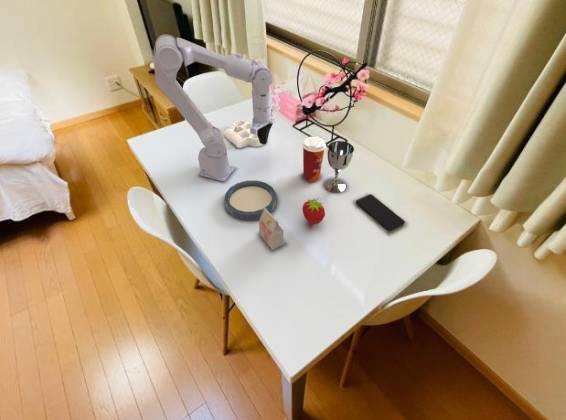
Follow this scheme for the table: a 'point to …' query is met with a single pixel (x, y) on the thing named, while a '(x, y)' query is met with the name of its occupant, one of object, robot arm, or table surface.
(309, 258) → the table surface
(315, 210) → the strawberry
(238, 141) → the white tube cluster
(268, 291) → the table surface
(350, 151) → the silver metal goblet
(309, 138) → the paper cup
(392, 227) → the smartphone
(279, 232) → the milk carton
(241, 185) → the plate
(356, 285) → the table surface
